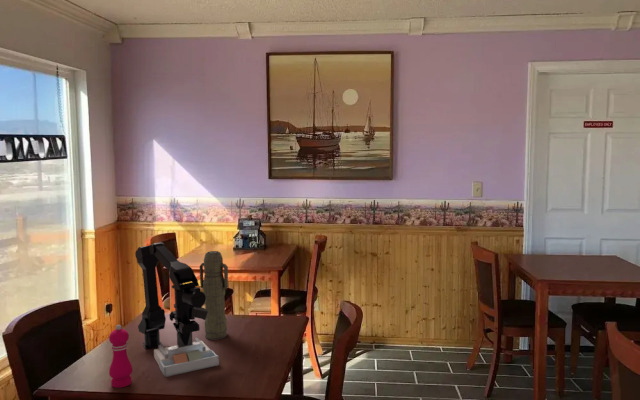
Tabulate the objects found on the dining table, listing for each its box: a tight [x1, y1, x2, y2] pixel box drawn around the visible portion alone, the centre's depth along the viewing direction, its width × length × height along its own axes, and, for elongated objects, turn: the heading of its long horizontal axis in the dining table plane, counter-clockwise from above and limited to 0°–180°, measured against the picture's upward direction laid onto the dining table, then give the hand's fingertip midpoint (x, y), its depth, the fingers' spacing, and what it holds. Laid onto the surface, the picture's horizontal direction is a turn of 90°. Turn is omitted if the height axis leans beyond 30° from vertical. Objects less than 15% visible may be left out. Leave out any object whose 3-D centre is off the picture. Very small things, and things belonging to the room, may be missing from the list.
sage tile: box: [187, 351, 202, 361], centre depth 191 cm, size 4×4×1 cm
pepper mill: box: [108, 324, 134, 389], centre depth 175 cm, size 7×7×20 cm
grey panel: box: [168, 331, 202, 358], centre depth 192 cm, size 2×12×8 cm, turn 119°
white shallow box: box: [153, 337, 211, 365], centre depth 196 cm, size 11×18×4 cm, turn 119°
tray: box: [158, 349, 220, 378], centre depth 188 cm, size 8×19×4 cm, turn 119°
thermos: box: [199, 250, 229, 341], centre depth 217 cm, size 9×12×35 cm
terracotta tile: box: [173, 353, 188, 364], centre depth 188 cm, size 4×4×1 cm
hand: (185, 344), depth 192 cm, fingers closed
